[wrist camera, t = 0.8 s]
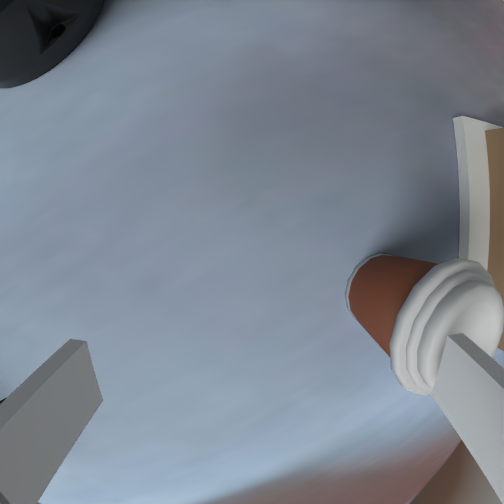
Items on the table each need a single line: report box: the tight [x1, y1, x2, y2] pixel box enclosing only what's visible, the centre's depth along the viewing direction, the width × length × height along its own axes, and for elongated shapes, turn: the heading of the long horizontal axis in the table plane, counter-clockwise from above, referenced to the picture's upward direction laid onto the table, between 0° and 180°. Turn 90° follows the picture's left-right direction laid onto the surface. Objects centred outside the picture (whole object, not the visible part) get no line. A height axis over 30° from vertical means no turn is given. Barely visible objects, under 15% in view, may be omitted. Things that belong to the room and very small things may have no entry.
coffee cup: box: [345, 253, 504, 396], centre depth 20 cm, size 9×9×12 cm
